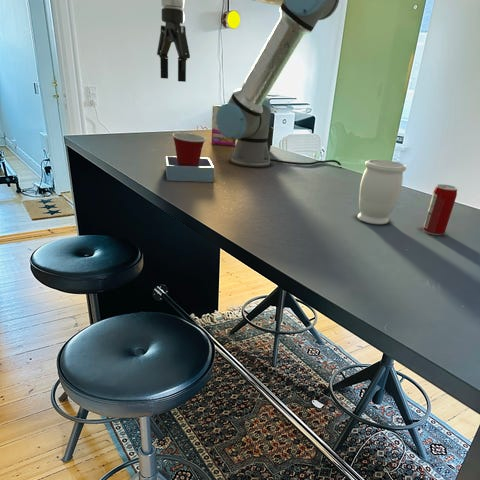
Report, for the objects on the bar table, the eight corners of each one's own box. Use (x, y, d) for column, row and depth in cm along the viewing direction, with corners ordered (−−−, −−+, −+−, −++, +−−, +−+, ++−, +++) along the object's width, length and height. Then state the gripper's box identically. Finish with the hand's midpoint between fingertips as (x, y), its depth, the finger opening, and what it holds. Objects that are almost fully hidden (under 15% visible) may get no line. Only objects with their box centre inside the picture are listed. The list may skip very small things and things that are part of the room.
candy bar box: (236, 145, 209) (239, 106, 200) (234, 146, 204) (237, 107, 196) (213, 142, 210) (214, 104, 201) (211, 144, 206) (212, 105, 197)
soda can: (448, 235, 114) (464, 188, 108) (431, 236, 113) (445, 188, 107) (435, 228, 119) (449, 182, 113) (417, 228, 117) (431, 182, 111)
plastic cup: (189, 178, 142) (190, 139, 136) (165, 172, 147) (165, 133, 141) (211, 174, 150) (212, 136, 144) (187, 168, 155) (188, 131, 149)
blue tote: (208, 171, 157) (209, 158, 154) (213, 182, 144) (214, 167, 142) (165, 169, 154) (165, 156, 152) (167, 180, 141) (166, 165, 139)
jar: (385, 229, 115) (400, 169, 107) (348, 220, 119) (359, 162, 112) (396, 219, 123) (411, 163, 115) (360, 211, 127) (372, 157, 120)
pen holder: (251, 148, 204) (253, 124, 199) (271, 150, 203) (273, 126, 198) (248, 151, 196) (250, 127, 191) (269, 153, 195) (272, 129, 190)
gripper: (146, 8, 156) (148, 76, 167) (180, 6, 139) (180, 82, 150) (166, 11, 160) (166, 77, 171) (201, 9, 143) (199, 83, 154)
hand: (172, 80), depth 160 cm, fingers open, 13 cm apart
